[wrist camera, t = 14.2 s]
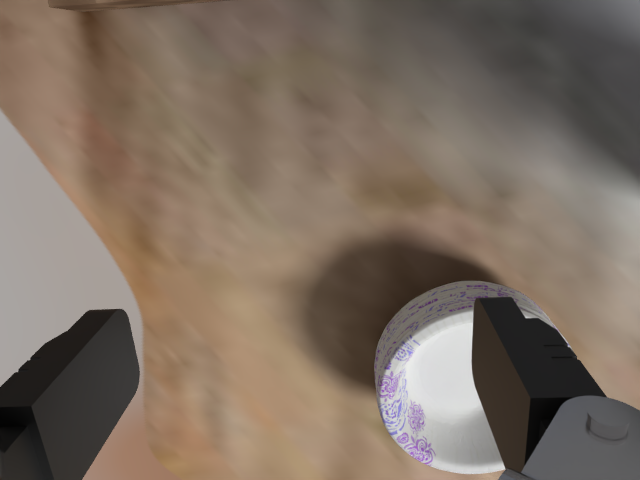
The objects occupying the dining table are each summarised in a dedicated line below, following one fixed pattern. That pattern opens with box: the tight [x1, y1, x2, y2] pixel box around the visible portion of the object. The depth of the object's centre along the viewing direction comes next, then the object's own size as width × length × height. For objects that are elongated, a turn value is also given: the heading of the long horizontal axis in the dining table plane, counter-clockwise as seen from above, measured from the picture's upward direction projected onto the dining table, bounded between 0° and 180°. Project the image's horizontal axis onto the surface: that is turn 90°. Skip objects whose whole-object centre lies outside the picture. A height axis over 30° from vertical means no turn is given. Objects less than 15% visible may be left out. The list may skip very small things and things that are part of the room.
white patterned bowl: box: [374, 281, 573, 474], centre depth 42 cm, size 15×15×8 cm
